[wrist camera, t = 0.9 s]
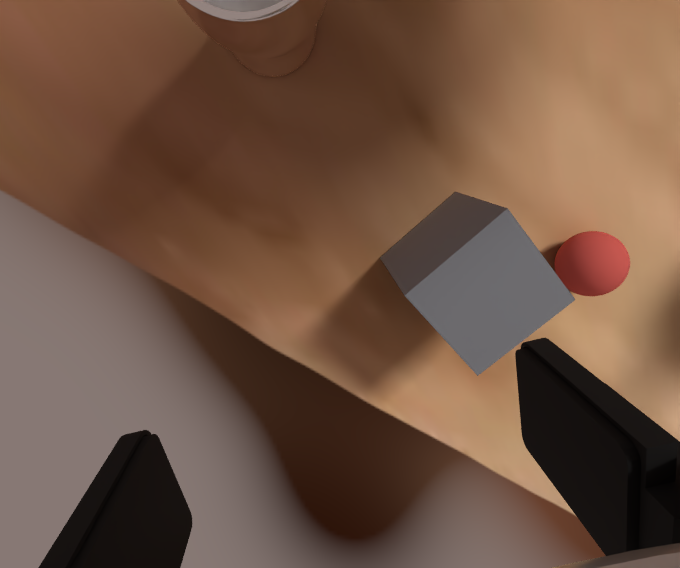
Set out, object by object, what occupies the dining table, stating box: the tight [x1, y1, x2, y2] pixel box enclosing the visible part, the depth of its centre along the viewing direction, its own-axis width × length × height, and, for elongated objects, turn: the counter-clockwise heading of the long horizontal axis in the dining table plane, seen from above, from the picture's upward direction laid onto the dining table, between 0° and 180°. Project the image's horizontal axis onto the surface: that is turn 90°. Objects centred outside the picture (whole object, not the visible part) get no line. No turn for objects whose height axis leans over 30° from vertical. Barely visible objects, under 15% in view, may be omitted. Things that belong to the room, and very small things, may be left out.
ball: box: [554, 231, 630, 296], centre depth 32 cm, size 5×5×5 cm
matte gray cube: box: [380, 192, 575, 376], centre depth 30 cm, size 8×8×9 cm
